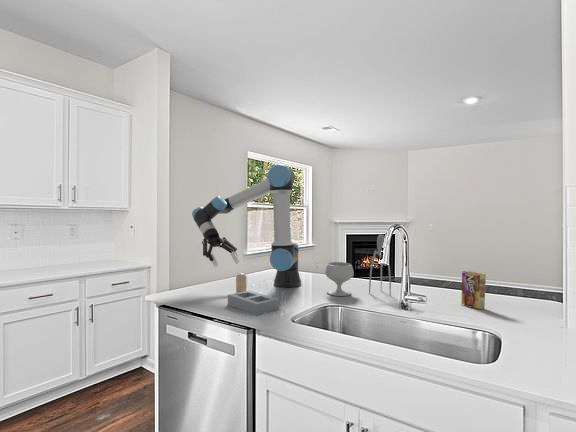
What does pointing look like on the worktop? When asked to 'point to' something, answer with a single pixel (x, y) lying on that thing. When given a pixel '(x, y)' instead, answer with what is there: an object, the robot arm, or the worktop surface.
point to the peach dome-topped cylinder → (241, 283)
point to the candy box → (473, 289)
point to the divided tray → (253, 302)
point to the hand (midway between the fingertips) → (227, 264)
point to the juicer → (379, 246)
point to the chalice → (339, 276)
